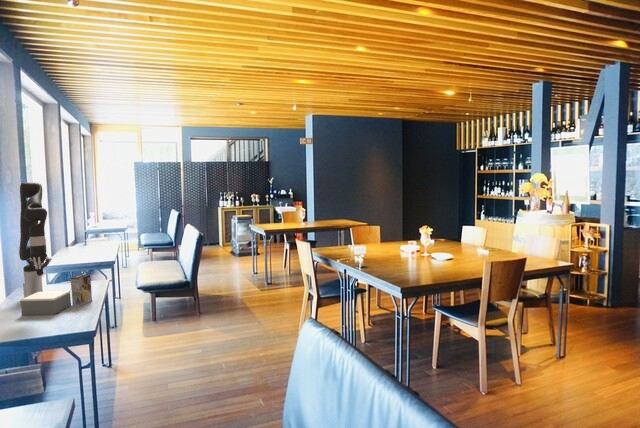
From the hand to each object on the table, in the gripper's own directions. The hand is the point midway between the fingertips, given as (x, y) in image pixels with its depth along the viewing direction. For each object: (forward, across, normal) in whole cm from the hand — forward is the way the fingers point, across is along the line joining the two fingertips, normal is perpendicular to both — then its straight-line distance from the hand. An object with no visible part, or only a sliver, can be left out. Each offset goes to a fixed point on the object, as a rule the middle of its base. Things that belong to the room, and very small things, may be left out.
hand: (40, 275), depth 242 cm
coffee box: (+22, -12, -19) cm, 31 cm away
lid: (+13, 0, -4) cm, 14 cm away
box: (+21, 0, -4) cm, 22 cm away
